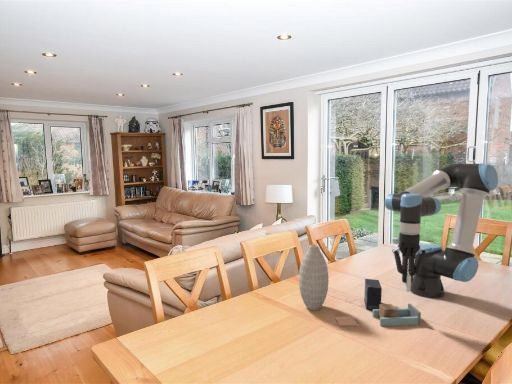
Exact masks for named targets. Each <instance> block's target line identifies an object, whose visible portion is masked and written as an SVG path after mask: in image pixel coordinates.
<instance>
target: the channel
mask: <svg viewBox="0 0 512 384" xmlns="http://www.w3.org/2000/svg"><path fill="white" fill-rule="evenodd" d="M396 309H397V312H396V317H386V318H380V319H379V326H380V327H393V326H395V327H396V326H399V327H400V326H420V325H421V317H422V313H421V311H420V310H419V309H417V308H416V307H415V306H414V305H413V304H411V303H408V304H407V308H405V307H404V308H396ZM372 318H379V309H373V310H372Z"/></svg>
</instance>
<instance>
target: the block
mask: <svg viewBox="0 0 512 384" xmlns="http://www.w3.org/2000/svg"><path fill="white" fill-rule="evenodd" d="M397 309H398V308H396V307H395V306H394V305H393V304H392V303H381V304H379V317H378V318H379V320H380V318H386V317H396V312H397Z"/></svg>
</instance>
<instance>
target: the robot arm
mask: <svg viewBox="0 0 512 384" xmlns="http://www.w3.org/2000/svg"><path fill="white" fill-rule="evenodd" d="M498 180H499V177H498V172H497V169H496V168H495V166H494V165H492V164H490V163H482V162H480V163H466V162H465V163H463V162H462V163H461V162H460V163H453V164H449V165H446V166H443V167H442V168H439V169H437V170H435V171H434V172H432V173H431V175H430V176H428V177H427V178H425V179H422V180H421V181H419V182H418V183H416V184H414V185H412V186H410V187H408V188H407V189H405V190H403V191H401V192H399V193H388V194H387V195H386V197H385V199H384V207H385V208H386V209H387V210H389V211H393V212H398V213H399V212H400V213H399V214H400V217H399V218H400V219H399V235H398V236H399V237H398V245H397V248H395V249H394V248H392V249H391V252H392V254H393V256H394V259H395V260H394V261H395V265H396V269H397V272H398V273H399V274H401V282H402V283H403V290H404V291H405V292H411V293H412V294H414V295H418V296H421V297H424V298H425V297H426V298H440V297H443V296H444V295H445V289H444V284H443V282H442V278H441V277H444V278H448V279H450V280H454V281H456V282H457V281H458V282H463V283H467V282H470V281H472V280H473V278H474V277H475V276H476V274H477V272H478V270H479V259H477V258H476V256H475V255H476V252H474V250H473V245H474V242H475V238H476V233H477V229H478V224H479V220H480V217H481V212H482V207H483V204H484V200H485V198H486V197H488V196H489V194H490V191H491V192H492V191H494V190H496V188H497V187H498V183H499V181H498ZM448 188H459V191H460V193H461V199H460V203H459V207H458V211H457V216H456V219H455V224H454V228H453V233H452V236H451V240H450V244H448V245H446V247H445V249H444V250H443V246H442V245H440V244H431V243H430V244H420V242H421V241H420V240H421V235H420V233H421V222H422V221H421V219H422V217H429V216H430V217H432V216H435V215H437V214H438V213H440V211H441V209H442V204H441V201H440V200H439V199H438V198H436V196H435V197H434V196H432V195H433V194H435V193H436V192H437V193H438V192H439V191H440V190H443V191H444V190H447V189H448ZM400 254H401V255H400ZM401 257H402V258H401Z"/></svg>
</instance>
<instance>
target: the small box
mask: <svg viewBox="0 0 512 384" xmlns="http://www.w3.org/2000/svg"><path fill="white" fill-rule="evenodd" d="M382 291H383V289H382V285H381V283H380V280H379V279H372V278H364V297H363V298H364V299H363V301H364V306H365V309H366V310H369V311H370V310H371V311H373V309H379V304H382Z"/></svg>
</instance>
